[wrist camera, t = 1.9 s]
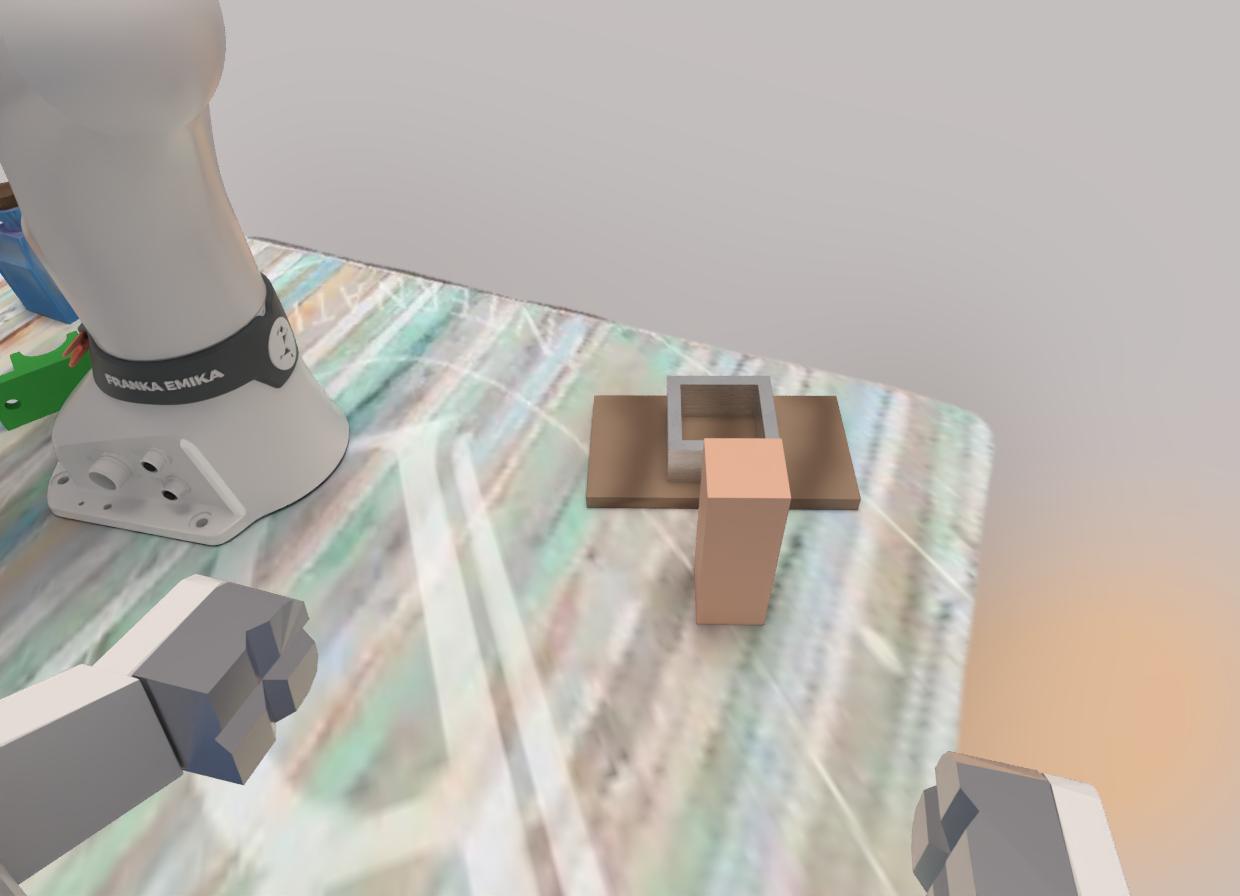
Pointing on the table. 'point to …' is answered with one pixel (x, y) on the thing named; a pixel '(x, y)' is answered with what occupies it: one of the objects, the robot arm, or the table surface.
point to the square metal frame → (713, 414)
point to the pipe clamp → (39, 384)
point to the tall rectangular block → (739, 528)
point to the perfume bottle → (27, 265)
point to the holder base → (637, 437)
